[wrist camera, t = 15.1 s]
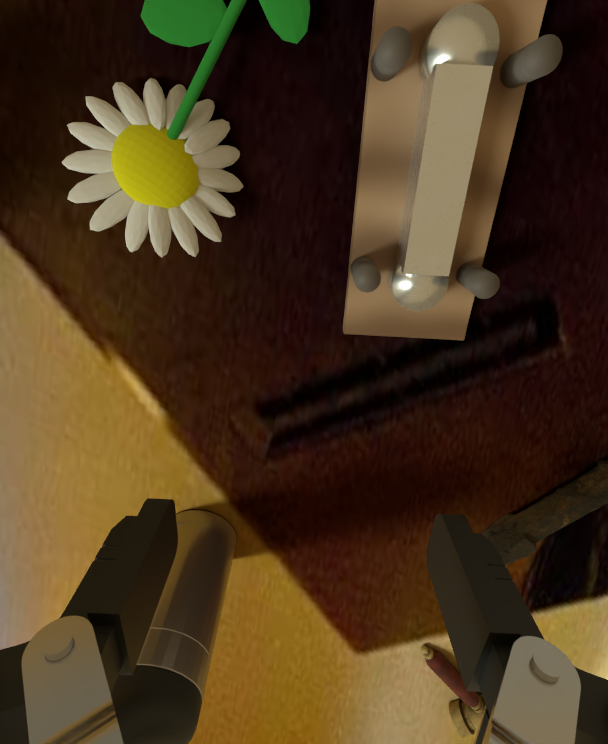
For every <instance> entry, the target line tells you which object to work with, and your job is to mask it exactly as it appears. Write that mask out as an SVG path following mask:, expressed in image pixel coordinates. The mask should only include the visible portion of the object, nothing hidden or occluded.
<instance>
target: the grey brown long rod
mask: <svg viewBox="0 0 608 744" xmlns="http://www.w3.org/2000/svg"><path fill="white" fill-rule="evenodd" d="M607 503H608V460H601V461H598V463H597V466H596V467H595V468H594V469H592V470H590V471H588V472H587V473H585V474H583V475H582V476H580V477H579V478H577V479H575V480H574V481H572V482H570V483H569V484H567V485H565V486H563V487H562V488H559V489H556V491H555V492H553V493H552V494H550V495H548V496H546V497H544V498H543V499H541V500H540V501H538V502H536V503H535V504H533V505H531V506H530V507H528V508H526V509H525V510H523V511H521V512H519V513H517V514H512V513H508V514H506V515H504V516H503V517H501V518H500V519H498V520H497V521H496V522H494V523H493V524H492V525H491V526H489V527H488V528H487V529H486V530H485V531H484V532H483V533H482V534H483V535H484V536H485V537H486V538H487V539H488V540H489V541H490V542H491V543H492V544H493V545H494V546H495V547H496V548H497V550H498V552H499V554H500V556H501V558H502V560H503V562H504V564H505V566H506V565H509V564H511V563H513V562H514V561H516V560H519V559H521V558H524V557H527V556H529V555H530V554H532V553H533V552H534V551H536V543H537V542H538V541H540V540H541V539H543V538H544V537H546V536H548V535H549V534H552V533H553V532H555V531H557V530H559V529H561V528H562V527H564V526H566V525H568V524H570V523H572V522H573V521H575V520H577V519H579V518H581V517H582V516H584V515H586V514H588V513H590V512H592V511H594V510H596V509H598V508H600V507H601V506H603V505H604V504H607Z"/></svg>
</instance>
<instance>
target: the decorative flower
mask: <svg viewBox="0 0 608 744" xmlns="http://www.w3.org/2000/svg"><path fill="white" fill-rule="evenodd" d="M246 1H247V0H231V2H230V4H229V6H228V8H226V6H225V4H224V2H223V0H145V2H144V6H143V9H142V13H141V18H142V19H143V21H144V23H145V25H146V26H147V28H148V30H149V32H150V33H152V34H154V35H155V36H157V37H159V38H161V39H162V40H164V41H166V42H168V43H170V44H175V45H180V46H186V47H192V46H196V45H200V44H204V43H207V42H211V43H210V45H209V47H208V49H207V51H206V53H205V55H204V57H203V59H202V61H201V64H200V66H199V68H198V70H197V72H196V74H195V76H194V78H193V80H192V82H191V84H190V86H189V88H188V90H187V91H186V89H185V87H184V86H183V85H181V84H177V85H175V86H174V87H173V88H172V89H171V90H170V91H169V94H168V96H167V99H165V96H164V93H163V90H162V88H161V87H160V85H159V83H158V82H157V80H155V79H152V78H150V79H149V80H148V81H147V82H146V83H145V87H144V91H143V102H142V101H141V99H140V98H139V97H138V96H137V95H136V93H135V92H134V91H133V90H132V89H131V88H129V87H128V86H127V85H126V84H124V83H122V82H116V83H115V84H114V86H113V92H114V96H115V100H116V102H117V104H118V106H119V108H120V110H121V112H122V113H123V114H124V115H123V114H122V113H121V112H119V111H118V110H117V109H115V108H114V107H113V106H111V105H110V104H109V103H107V102H106V101H103V100H101V99H98V98H96V97H89V96H86V105H87V107H88V108H89V110H90V111H91V112H92V114H93V115H94V117H95V118H96V119H97V120H98V121H99V122H100V123H101V124H102V125H103V126H104V127H105V128H106V129H107V130H106V129H104V128H101V127H98V126H95V125H93V124H90V123H87V122H73V123H70V124H68V125H67V126H68V128H69V131H70V133H71V134H72V135H74V136H75V137H76V138H77V139H79V140H80V141H81V142H82V143H84V144H86V145H88V146H89V147H91V148H93V149H95V150H86V151H78V152H75V153H73V154H71V155H69V156H67V157H66V158H65V159H64V160H63V162H62V164H63V165H65V166H66V167H67V168H68V169H70V170H74V171H78V172H82V173H98V174H96V175H93V176H91V177H89V178H87V179H85V180H83V181H81V182H79V183H77V185H76V186H75V187H74V188H73V189H72V190H71V191H70V192H69V195H68V200H70V201H72V202H74V203H88V202H94V201H97V200H101V199H104V198H107V197H109V196H111V195H112V196H111V197H109V198H108V199H107V200H106V201H105V202H104V203H103V204H102V205H101V206H100V207H99V208H98V209H97V210H96V211H95V213H94V215H93V217H92V219H91V221H90V230H94V231H101V230H104V229H107V228H109V227H112V226H114V225H115V224H117V223H118V222H120V221H121V220H123V219H124V218H125V217H126V216H127V215H128V217H127V223H126V230H125V239H126V246H127V248H128V249H129V251H130V252H133V251H136V250H138V249H139V247H140V245H141V244H142V242H143V241H144V239H145V237H146V234H147V232H148V229H149V231H150V237H151V242H152V244H153V247H154V249H155V251H156V253H157V254H158V255H159V256H160V257H163V256H164V255H166V254H167V253H168V249H169V245H170V241H171V227H172V230H173V231H174V233H175V235H176V237H177V239H178V241H179V243H180V244H181V246H182V247H183V248H184V249H185V250H186V252H187V253H188V254H190V255H192V256H194V257H196V255H197V253H198V251H199V249H198V239H197V235H196V231H195V228H194V226H195V227H196V228H197V229H198V230H199V231H200V232H201V233H202V234H203V235H204V236H206V237H208V238H209V239H211V240H213V241H215V242H221V237H222V234H221V232H220V230H219V227H218V225H217V223H216V221H215V220H214V218H213V217H212V215H211V214H210V212H209V211H211V212H213V213H215V214H217V215H220V216H225V217H232V216H234V215H235V210H234V207H233V206H232V205H231V204H230V203H229V202H228V200H227V199H226V198H225V197H224V196H222V195H221V194H220V193H218V192H217V191H221V192H237V191H240V190H241V189H242V188H243V187H244V186H243V185H242V183H241V181H240V180H239V179H238V178H237V177H235V176H234V175H233V174H231V173H229V172H227V171H224V170H222V169H223V168H225V167H228V166H230V165H232V164H234V163H235V162H236V161H237V160H238V158H239V156H240V152H239V151H238V150H237V149H236V148H235V147H232V146H229V145H218V144H219V143H220V142H221V141H222V140H223V139H224V138H225V137H226V135H227V133H228V132H229V130H230V125H229V122H227V121H225V120H223V119H220V120H214V121H210V122H209V120H210V119H211V117H212V115H213V112H214V108H215V105H214V102H213V101H212V100H210V99H206V100H203V101H200V102H197V100H198V98H199V96H200V94H201V92H202V90H203V88H204V86H205V84H206V82H207V79H208V77H209V75H210V73H211V71H212V69H213V67H214V65H215V63H216V61H217V59H218V57H219V55H220V53H221V51H222V49H223V47H224V45H225V43H226V41H227V39H228V37H229V35H230V33H231V31H232V29H233V27H234V25H235V23H236V21H237V19H238V17H239V15H240V13H241V11H242V9H243V7H244V5H245V3H246ZM259 2H260V4H261V6H262V8H263V10H264V13H265V15H266V17H267V19H268V21H269V23H270V25H271V27H272V29H273V30H274V31H275V32H276V33H277V34H278V35H279V36H280V37H281V38H282V39H283V40H284V41H288V42H292V43H296V44H297V43H298V42H299V41H300V40H301V38H302V37H303V36H304V35H305V34H306V32H307V29H308V22H309V16H310V1H309V0H259ZM196 102H197V103H196ZM143 103H144V104H143ZM113 194H114V195H113ZM208 210H209V211H208Z"/></svg>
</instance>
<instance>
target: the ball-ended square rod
mask: <svg viewBox="0 0 608 744" xmlns="http://www.w3.org/2000/svg"><path fill="white" fill-rule="evenodd" d="M499 40H500V39H499V29H498V26H497V22H496V20H495V18H494V17H493V15H492V14H491V13H490V11H489V10H487V9H486V8H485V7H483V6H481V5H479V4H474V3H466V4H461V5H459V6H456V7H454V8H452V9H451V10H450V11H448V12H447V13H446V14H445V15H444V16H443V17H442V18H441V19H440V21H439V22H438V23H437V24H436V25H435V27H434V28H433V29H432V30H431V32H430V33H429V34H428V36H427V37H426V39H425V41H424V43H423V45H422V48H421V51H420V56H419V72H420V76H421V79H422V87H421V93H420V100H419V107H418V113H417V120H416V127H415V134H414V140H413V147H412V154H411V160H410V167H409V174H408V181H407V187H406V194H405V201H404V207H403V214H402V221H401V228H400V234H399V241H398V248H397V254H396V261H395V262H394V263H393V264H392V266H391V268H390V270H389V274H388V286H389V289H390V291H391V292H392V294H393V296H394V297H395V299H396V300H397V302H398V303H399V304H400V305H401V306H402V307H404V308H406V309H408V310H411V311H424V310H427V309H430V308H432V307H434V306H435V305H436V304H438V303H439V302H440V301H441V300H442V298H443V297H444V295H445V294H446V291H447V288H448V284H449V278H448V276H449V273H450V269H451V264H452V259H453V254H454V250H455V245H456V240H457V236H458V231H459V226H460V221H461V217H462V212H463V207H464V202H465V198H466V193H467V188H468V184H469V179H470V174H471V169H472V165H473V160H474V155H475V150H476V146H477V141H478V136H479V132H480V127H481V122H482V117H483V113H484V108H485V103H486V98H487V94H488V89H489V84H490V80H491V75H492V70H493V64H494V62H495V60H496V57H497V54H498V49H499Z"/></svg>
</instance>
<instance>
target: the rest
mask: <svg viewBox="0 0 608 744" xmlns="http://www.w3.org/2000/svg"><path fill="white" fill-rule="evenodd" d="M466 3H474V4H479V5H481V6H483V7H485V8H486V9H487V10H489V11H490V13H491V14H492V15H493V17H494V18H495V20H496V22H497V26H498V29H499V39H500V40H499V49H498V54H497V57H496V60H495V62H494V64H493V70H492V75H491V80H490V84H489V89H488V94H487V98H486V103H485V108H484V113H483V117H482V122H481V127H480V132H479V136H478V141H477V146H476V150H475V155H474V160H473V165H472V169H471V174H470V179H469V184H468V188H467V193H466V198H465V202H464V207H463V212H462V217H461V221H460V226H459V231H458V236H457V240H456V245H455V250H454V254H453V259H452V264H451V269H450V273H449V276H448V278H449V284H448V288H447V291H446V294H445V295H444V297H443V298H442V300H441V301H440V302H439V303H438V304H436V305H435V306H434V307H432V308H430V309H427V310H424V311H411V310H408V309H406V308H404V307H402V306H401V305H400V304H399V303H398V302H397V300H396V299H395V297H394V296H393V294H392V292H391V291H390V289H389V286H388V274H389V270H390V268H391V266H392V264H393V263H394V262H395V261H396V254H397V248H398V241H399V234H400V228H401V221H402V214H403V207H404V201H405V194H406V187H407V181H408V174H409V167H410V160H411V154H412V147H413V140H414V134H415V127H416V120H417V113H418V107H419V100H420V93H421V87H422V79H421V76H420V72H419V56H420V51H421V48H422V45H423V43H424V41H425V39H426V37H427V36H428V34H429V33H430V32H431V30H432V29H433V28H434V27H435V25H436V24H437V23H438V22H439V21H440V19H441V18H442V17H443V16H444V15H445V14H446V13H447V12H448V11H450V10H451V9H452V8H454V7H456V6H459V5H461V4H466ZM546 3H547V0H375V3H374V13H373V23H372V34H371V44H370V54H369V65H368V75H367V85H366V95H365V106H364V116H363V126H362V137H361V147H360V157H359V167H358V178H357V188H356V198H355V209H354V219H353V229H352V239H351V250H350V260H349V270H348V281H347V291H346V301H345V312H344V322H343V332H344V334H357V335H375V336H394V337H412V338H431V339H449V340H464V337H465V333H466V329H467V325H468V321H469V317H470V313H471V309H472V305H473V301H474V297H475V296H477V297H478V298H481V299H487V298H490V297H492V296H493V295H494V294H495V293H496V292H497V291H498V289H499V286H500V281H499V278H498V277H497V275H495V274H494V273H492V272H490V271H488V270H486V269H485V268H483V267H482V264H483V260H484V256H485V252H486V248H487V244H488V239H489V235H490V231H491V227H492V223H493V219H494V215H495V211H496V207H497V203H498V199H499V195H500V191H501V186H502V182H503V178H504V174H505V170H506V166H507V162H508V158H509V154H510V150H511V146H512V142H513V137H514V133H515V129H516V125H517V121H518V117H519V113H520V109H521V105H522V101H523V97H524V93H525V88H526V84H527V83H528V82H531V81H533V80H535V79H538V78H540V77H542V76H545V75H547V74H549V73H550V72H552V71H553V70H554V69H555V68H556V67H557V65H558V64H559V62H560V60H561V57H562V51H563V48H562V43H561V41H560V39H559V38H558V37H557V36H555V35H552V34H548V35H544V36H542V37H540V38H538V35H539V31H540V27H541V23H542V19H543V15H544V11H545V7H546Z"/></svg>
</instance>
